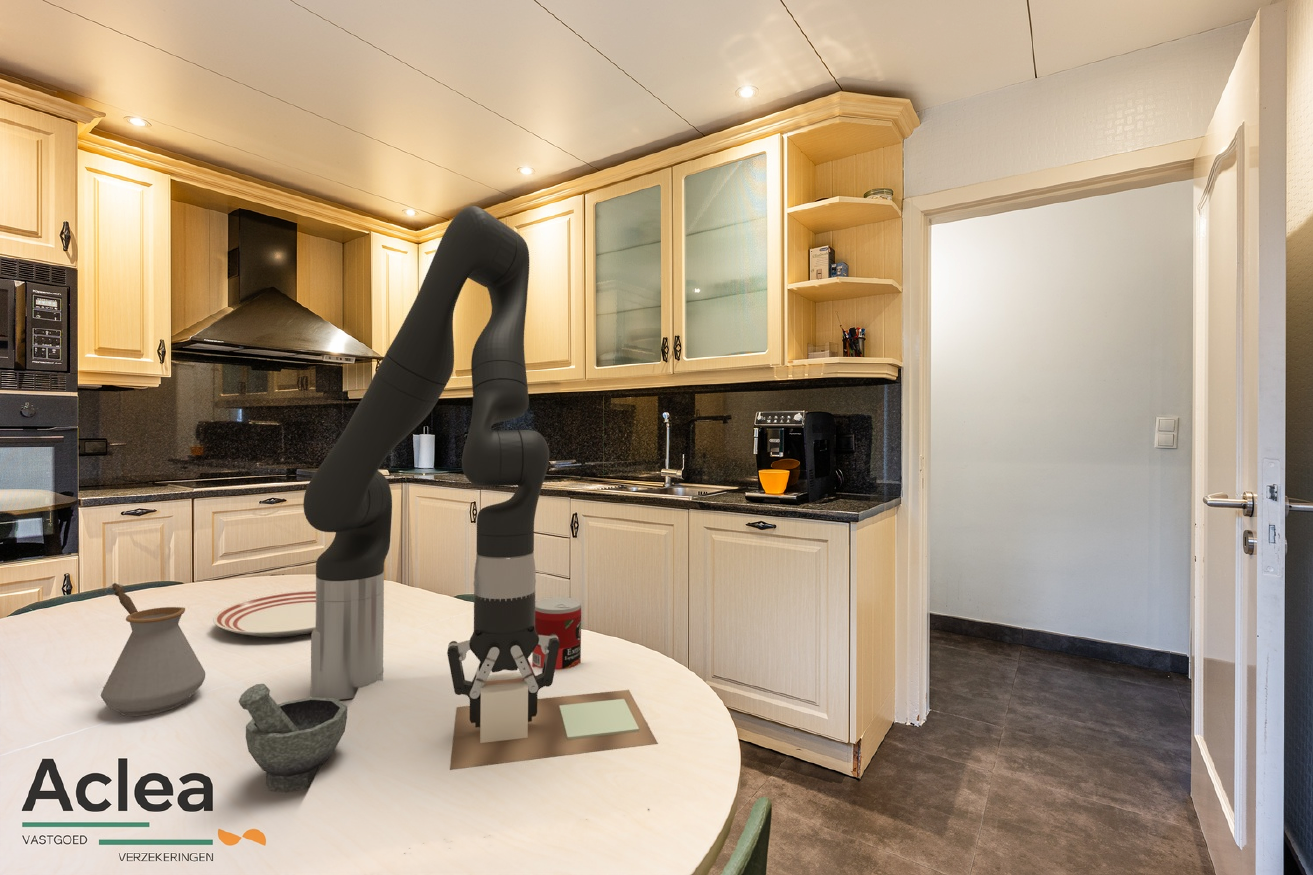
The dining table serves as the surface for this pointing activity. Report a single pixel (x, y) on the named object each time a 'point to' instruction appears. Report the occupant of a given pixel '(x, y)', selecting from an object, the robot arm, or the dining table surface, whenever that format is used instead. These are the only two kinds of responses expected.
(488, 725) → the cream drawer box
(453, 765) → the post board
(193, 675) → the coffee pot
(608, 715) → the mat
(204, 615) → the dining table surface
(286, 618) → the dinner plate
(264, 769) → the mortar and pestle
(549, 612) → the canned food
